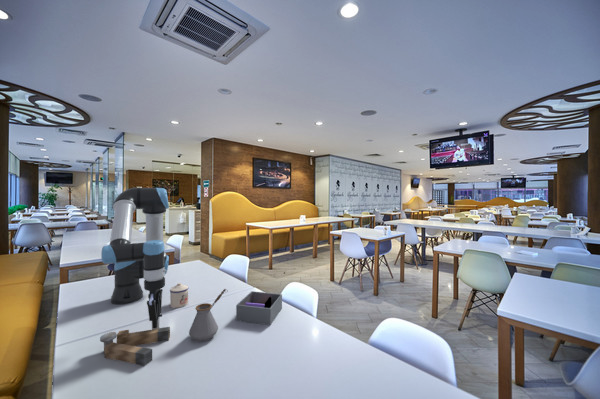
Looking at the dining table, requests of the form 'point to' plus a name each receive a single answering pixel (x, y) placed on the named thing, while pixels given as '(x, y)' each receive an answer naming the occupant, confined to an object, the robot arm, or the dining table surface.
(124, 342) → the bar
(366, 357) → the dining table surface
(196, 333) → the coffee pot
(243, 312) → the frame
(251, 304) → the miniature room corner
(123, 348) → the tongs lower arm
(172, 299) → the teacup with lid
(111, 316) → the dining table surface
